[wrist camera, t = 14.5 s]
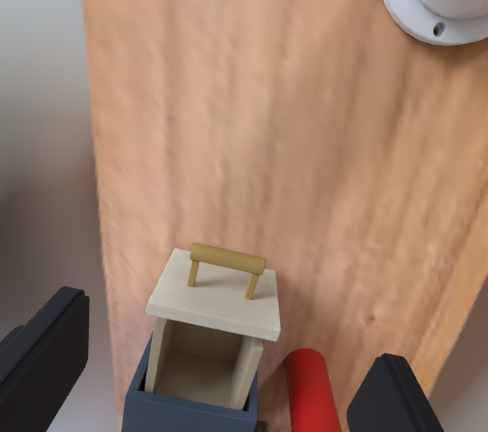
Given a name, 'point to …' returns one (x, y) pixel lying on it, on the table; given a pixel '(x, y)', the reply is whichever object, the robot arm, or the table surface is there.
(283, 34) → the table surface
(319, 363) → the ketchup bottle
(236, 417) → the dark blue angular piece
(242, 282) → the drawer
